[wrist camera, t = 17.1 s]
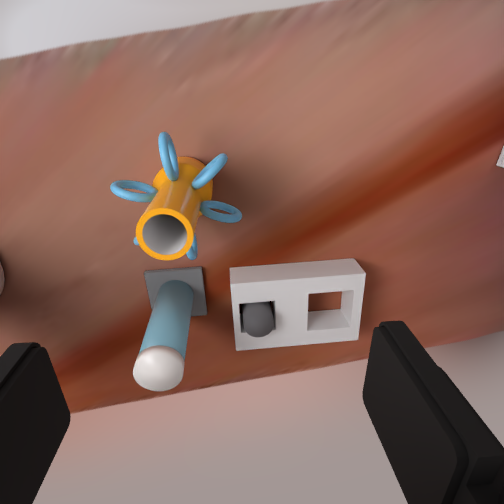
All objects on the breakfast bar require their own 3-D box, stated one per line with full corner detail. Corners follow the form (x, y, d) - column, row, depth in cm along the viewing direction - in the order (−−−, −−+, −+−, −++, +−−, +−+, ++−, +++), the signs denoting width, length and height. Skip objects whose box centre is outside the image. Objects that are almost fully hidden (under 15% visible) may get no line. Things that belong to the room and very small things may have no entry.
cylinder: (183, 248, 40) (162, 326, 27) (112, 186, 37) (48, 241, 23) (258, 180, 38) (277, 229, 24) (190, 105, 34) (169, 114, 20)
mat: (154, 316, 44) (153, 319, 44) (144, 270, 41) (143, 273, 41) (207, 312, 45) (207, 314, 44) (201, 266, 42) (201, 268, 41)
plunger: (242, 312, 45) (244, 338, 40) (240, 289, 43) (243, 314, 38) (268, 309, 45) (274, 336, 40) (268, 287, 44) (273, 311, 39)
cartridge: (154, 281, 41) (127, 358, 30) (190, 277, 42) (178, 351, 30) (162, 311, 43) (139, 394, 32) (196, 307, 44) (186, 387, 32)
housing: (235, 330, 46) (236, 350, 43) (229, 267, 42) (230, 284, 38) (347, 321, 47) (357, 339, 44) (353, 258, 43) (365, 273, 39)
